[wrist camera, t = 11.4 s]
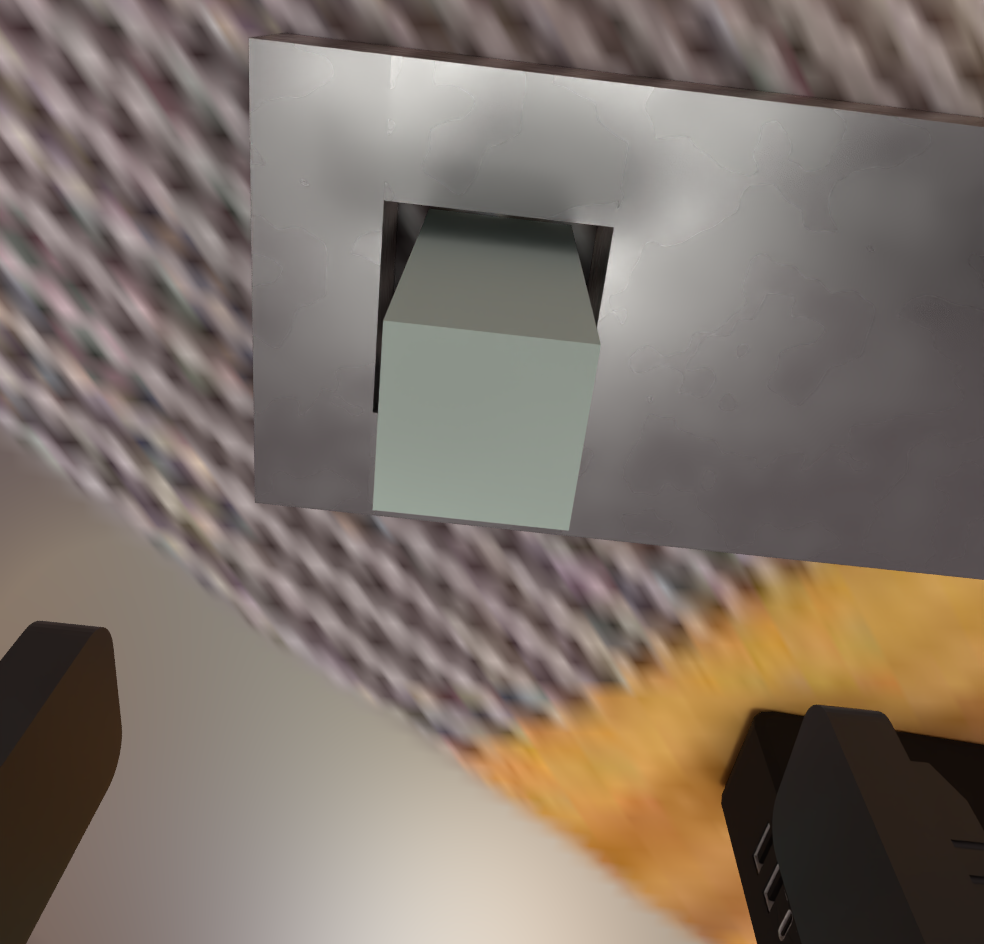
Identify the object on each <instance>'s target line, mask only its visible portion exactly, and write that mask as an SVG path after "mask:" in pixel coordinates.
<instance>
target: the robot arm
mask: <svg viewBox="0 0 984 944" xmlns="http://www.w3.org/2000/svg"><path fill="white" fill-rule="evenodd" d="M121 741H122V725H121V716H120V706H119V698H118V688H117V678H116V668H115V659H114V649H113V642H112V637H111V634H110V632H109V631H108V630H107V629H106V628H104V627H95V626H85V625H76V624H66V623H57V622H47V621H36V622H34V623H32V624H31V625H29V626H28V627H27V629H25V631H24V632H23V633H22V634H21V636H20V637H19V638H18V639H17V641H16V642H15V643H14V644H13V646H12V647H11V648H10V649H9V651H8V652H7V653H6V654H5V656H4V657H3V658H2V659H1V661H0V944H26V943H27V941H28V939H29V937H30V935H31V933H32V931H33V929H34V928H35V925H36V924H37V922H38V920H39V918H40V916H41V914H42V912H43V910H44V909H45V907H46V905H47V903H48V901H49V899H50V897H51V895H52V893H53V892H54V890H55V888H56V886H57V884H58V882H59V880H60V878H61V877H62V875H63V873H64V871H65V869H66V867H67V865H68V863H69V861H70V860H71V858H72V856H73V854H74V852H75V850H76V848H77V846H78V844H79V843H80V841H81V839H82V836H83V835H84V833H85V831H86V829H87V827H88V825H89V824H90V822H91V820H92V818H93V816H94V814H95V812H96V810H97V809H98V807H99V805H100V803H101V801H102V799H103V797H104V795H105V793H106V791H107V790H108V788H109V786H110V783H111V781H112V779H113V776H114V773H115V770H116V767H117V763H118V759H119V755H120V749H121ZM772 833H773V844H774V850H775V855H776V859H777V862H778V866H779V869H780V872H781V876H782V879H783V882H784V886H785V889H786V892H787V896H788V899H789V903H790V906H791V909H792V913H793V916H794V919H795V923H796V926H797V930H798V933H799V936H800V940H801V943H802V944H984V830H983V828H982V827H981V825H980V823H979V821H978V819H977V818H976V816H975V814H974V812H973V810H972V809H971V807H970V805H969V803H968V801H967V800H966V799H965V798H964V797H963V796H962V795H961V794H960V793H959V792H958V791H957V790H956V789H955V788H954V787H953V786H952V785H951V784H950V783H949V782H948V781H947V780H946V779H945V778H944V777H943V776H942V775H941V774H940V773H939V772H937V771H936V770H935V769H934V768H933V767H932V766H931V765H930V764H929V763H925V762H915V761H910V759H909V757H908V755H907V753H906V751H905V749H904V747H903V745H902V743H901V741H900V740H899V738H898V736H897V734H896V732H895V730H894V728H893V726H892V724H891V722H890V721H889V719H888V718H887V717H886V715H885V714H883V713H882V712H879V711H872V710H863V709H853V708H844V707H834V706H825V705H813V706H811V707H810V708H809V709H808V711H807V712H806V714H805V716H804V719H803V721H802V724H801V727H800V730H799V733H798V736H797V739H796V741H795V744H794V747H793V750H792V753H791V756H790V759H789V761H788V764H787V767H786V770H785V773H784V776H783V779H782V782H781V784H780V787H779V790H778V793H777V796H776V799H775V804H774V809H773V820H772Z"/></svg>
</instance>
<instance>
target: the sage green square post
mask: <svg viewBox="0 0 984 944" xmlns="http://www.w3.org/2000/svg"><path fill="white" fill-rule="evenodd" d="M600 348H601V343H600V339H599V335H598V331H597V327H596V323H595V319H594V315H593V311H592V307H591V303H590V299H589V295H588V291H587V287H586V283H585V279H584V275H583V271H582V267H581V263H580V259H579V255H578V251H577V247H576V243H575V239H574V235H573V231H572V227H571V225H566V224H557V223H549V222H540V221H532V220H523V219H514V218H506V217H497V216H488V215H480V214H471V213H463V212H454V211H445V210H437V209H429V211H428V213H427V215H426V218H425V220H424V223H423V225H422V228H421V230H420V232H419V235H418V237H417V240H416V242H415V245H414V247H413V249H412V252H411V254H410V257H409V259H408V262H407V264H406V266H405V269H404V271H403V274H402V276H401V278H400V281H399V283H398V286H397V288H396V291H395V293H394V295H393V298H392V300H391V303H390V305H389V308H388V310H387V312H386V315H385V317H384V320H383V333H382V350H381V368H380V386H379V404H378V422H377V440H376V458H375V476H374V494H373V510H378V511H387V512H397V513H406V514H415V515H425V516H434V517H444V518H453V519H463V520H472V521H482V522H491V523H500V524H510V525H519V526H529V527H538V528H548V529H557V530H567V531H569V526H570V520H571V515H572V509H573V503H574V497H575V492H576V486H577V480H578V474H579V469H580V463H581V457H582V451H583V446H584V440H585V434H586V428H587V422H588V417H589V411H590V405H591V399H592V394H593V388H594V382H595V376H596V371H597V365H598V359H599V353H600Z"/></svg>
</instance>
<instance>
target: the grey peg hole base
mask: <svg viewBox="0 0 984 944" xmlns="http://www.w3.org/2000/svg"><path fill="white" fill-rule="evenodd" d="M249 96H250V170H251V244H252V318H253V392H254V466H255V503H263V504H272V505H282V506H291V507H301V508H310V509H320V510H329V511H339V512H348V513H358V514H367V515H376V516H386V517H395V518H405V519H414V520H424V521H433V522H443V523H452V524H462V525H471V526H481V527H490V528H499V529H509V530H518V531H528V532H537V533H547V534H556V535H566V536H575V537H585V538H594V539H604V540H613V541H622V542H632V543H641V544H651V545H660V546H670V547H679V548H689V549H698V550H708V551H717V552H727V553H736V554H745V555H755V556H764V557H774V558H783V559H793V560H802V561H812V562H821V563H831V564H840V565H850V566H859V567H869V568H878V569H887V570H897V571H906V572H916V573H925V574H935V575H944V576H954V577H963V578H973V579H982V580H984V118H980V117H972V116H963V115H955V114H947V113H939V112H930V111H922V110H914V109H906V108H897V107H889V106H881V105H873V104H865V103H856V102H848V101H840V100H832V99H823V98H815V97H807V96H799V95H790V94H782V93H774V92H766V91H758V90H749V89H741V88H733V87H725V86H716V85H708V84H700V83H692V82H683V81H675V80H667V79H659V78H651V77H642V76H634V75H626V74H618V73H609V72H601V71H593V70H585V69H576V68H568V67H560V66H552V65H544V64H535V63H527V62H519V61H511V60H502V59H494V58H486V57H478V56H469V55H461V54H453V53H445V52H437V51H428V50H420V49H412V48H404V47H395V46H387V45H379V44H371V43H362V42H354V41H346V40H338V39H330V38H321V37H313V36H305V35H297V34H288V33H280V34H273V35H266V36H259V37H252V38H249ZM399 202H401V203H409V204H418V205H427V206H435V207H444V208H452V209H461V210H470V211H478V212H487V213H495V214H504V215H513V216H521V217H530V218H538V219H547V220H556V221H564V222H573V223H581V224H590V225H598V226H597V232H596V238H595V245H594V251H593V257H592V263H591V269H590V276H589V282H588V288H587V291H588V295H589V299H590V303H591V307H592V311H593V315H594V319H595V323H596V327H597V331H598V335H599V339H600V343H601V348H600V353H599V359H598V365H597V371H596V376H595V382H594V388H593V394H592V399H591V405H590V411H589V417H588V422H587V428H586V434H585V440H584V446H583V451H582V457H581V463H580V469H579V474H578V480H577V486H576V492H575V497H574V503H573V509H572V515H571V520H570V526H569V531H567V530H557V529H548V528H538V527H529V526H519V525H510V524H500V523H491V522H482V521H472V520H463V519H453V518H444V517H434V516H425V515H415V514H406V513H397V512H387V511H378V510H373V494H374V476H375V458H376V440H377V422H378V404H379V386H380V368H381V350H382V333H383V320H384V317H385V315H386V312H387V310H388V308H389V305H390V303H391V300H392V298H393V287H394V270H395V254H396V237H397V220H398V204H399Z"/></svg>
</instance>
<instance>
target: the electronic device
mask: <svg viewBox="0 0 984 944" xmlns="http://www.w3.org/2000/svg"><path fill="white" fill-rule="evenodd" d="M803 719H804V716H798V715H791V714H785V713H779V712H761V713H759V714H758V715H757V716H755V717H754V719H753V722H752V724H751V727H750V729H749V731H748V734H747V736H746V739H745V741H744V743H743V746H742V748H741V750H740V753H739V755H738V758H737V760H736V762H735V765H734V767H733V770H732V772H731V774H730V777H729V779H728V781H727V784H726V786H725V789H724V791H723V793H722V802H721V804H722V808H723V812H724V816H725V820H726V824H727V828H728V832H729V835H730V839H731V843H732V847H733V851H734V855H735V859H736V863H737V867H738V871H739V874H740V878H741V882H742V886H743V890H744V894H745V898H746V902H747V906H748V910H749V913H750V917H751V921H752V925H753V929H754V933H755V937H756V941H757V944H802V943H801V940H800V936H799V933H798V930H797V926H796V923H795V919H794V916H793V913H792V909H791V906H790V903H789V899H788V896H787V892H786V889H785V886H784V882H783V879H782V876H781V872H780V869H779V866H778V862H777V859H776V855H775V850H774V844H773V833H772V820H773V809H774V804H775V799H776V796H777V793H778V790H779V787H780V784H781V782H782V779H783V776H784V773H785V770H786V767H787V764H788V761H789V759H790V756H791V753H792V750H793V747H794V744H795V741H796V739H797V736H798V733H799V730H800V727H801V724H802V721H803ZM895 732H896V734H897V736H898V738H899V740H900V741H901V743H902V745H903V747H904V749H905V751H906V753H907V755H908V757H909V759H910V761H915V762H925V763H929V764H930V765H931V766H932V767H933V768H934V769H935V770H936V771H937V772H939V773H940V774H941V775H942V776H943V777H944V778H945V779H946V780H947V781H948V782H949V783H950V784H951V785H952V786H953V787H954V788H955V789H956V790H957V791H958V792H959V793H960V794H961V795H962V796H963V797H964V798H965V799H966V800H967V801H968V803H969V805H970V807H971V809H972V810H973V812H974V814H975V816H976V818H977V819H978V821H979V823H980V825H981V827H982V828H983V830H984V745H980V744H973V743H967V742H961V741H955V740H948V739H942V738H936V737H930V736H923V735H917V734H911V733H904V732H898V731H895Z"/></svg>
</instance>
